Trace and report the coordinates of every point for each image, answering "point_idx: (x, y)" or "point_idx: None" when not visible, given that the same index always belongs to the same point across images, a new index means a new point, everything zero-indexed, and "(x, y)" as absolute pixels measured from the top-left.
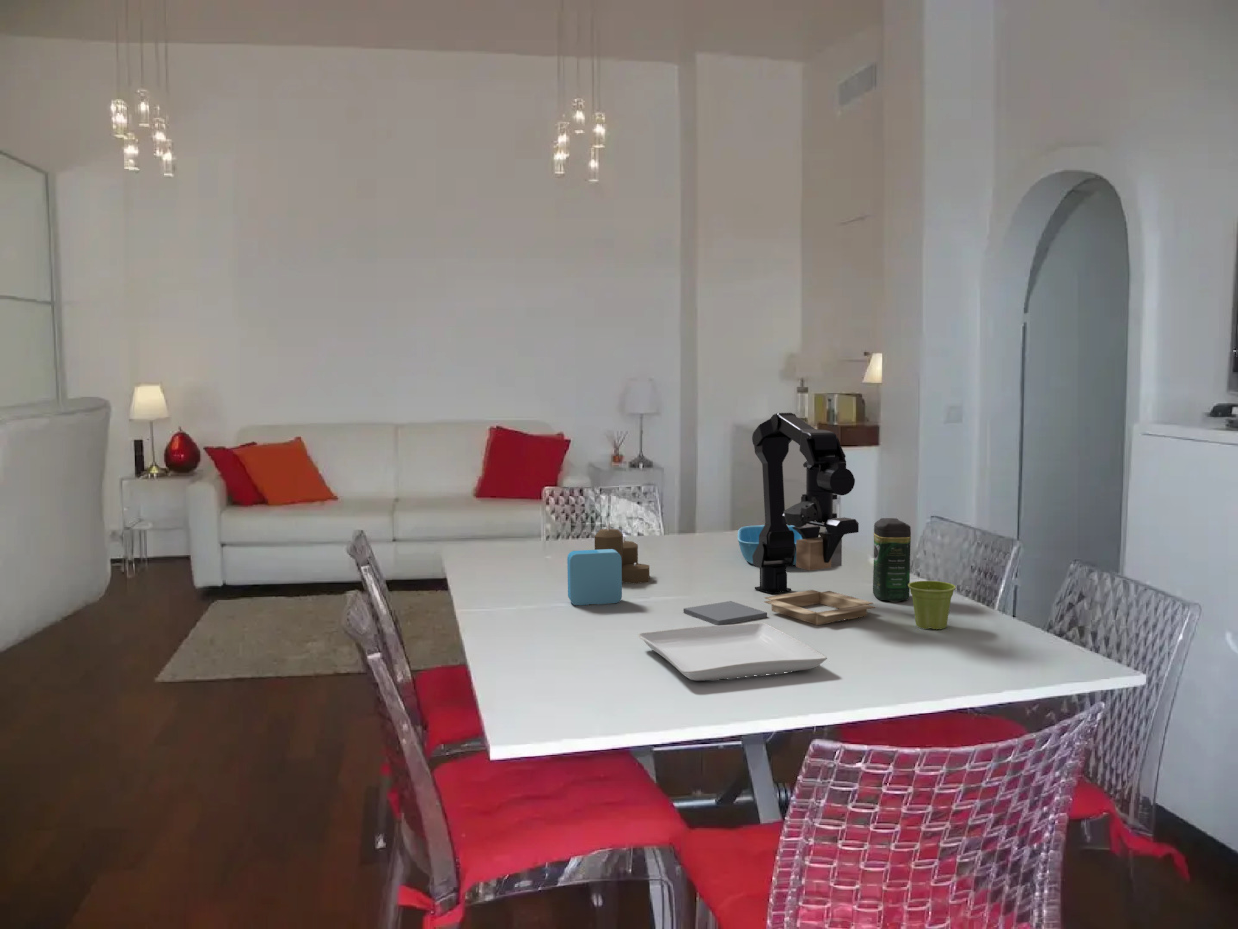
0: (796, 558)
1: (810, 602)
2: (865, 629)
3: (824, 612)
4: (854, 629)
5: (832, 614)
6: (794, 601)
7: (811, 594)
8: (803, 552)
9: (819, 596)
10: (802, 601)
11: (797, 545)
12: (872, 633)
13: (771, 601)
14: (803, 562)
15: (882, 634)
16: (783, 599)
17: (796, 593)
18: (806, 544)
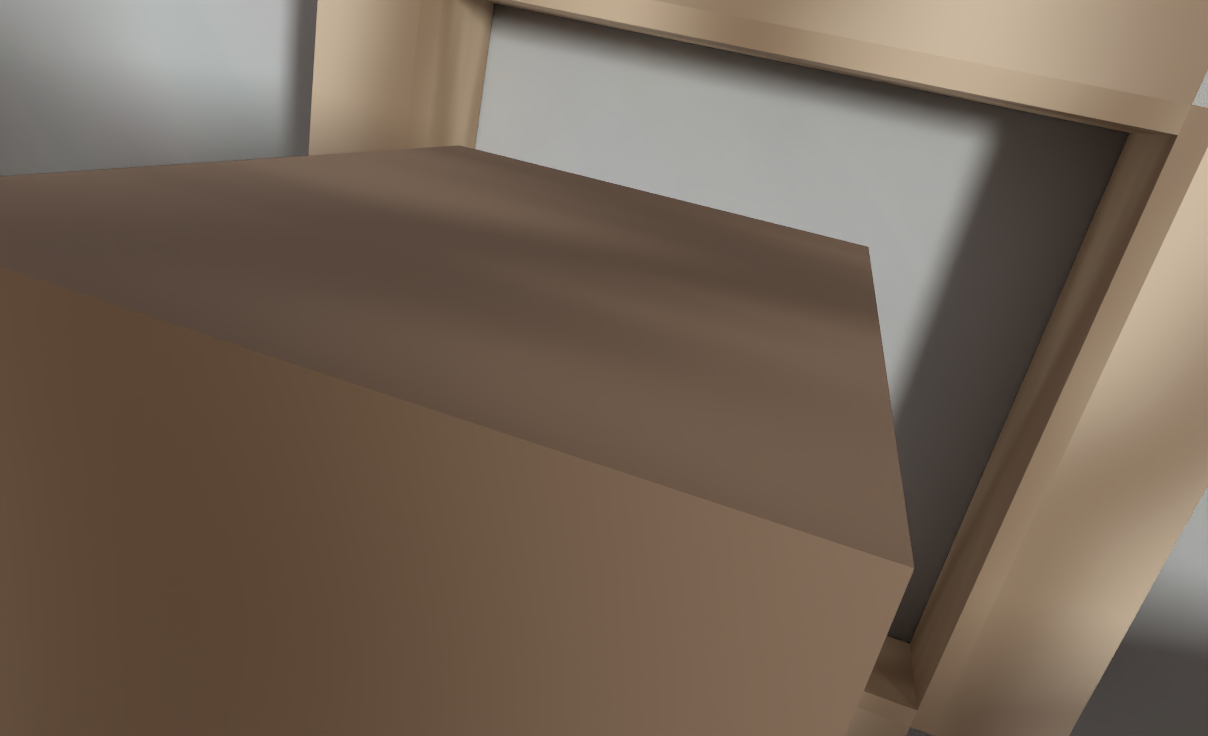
0: (861, 279)
1: (948, 570)
2: (201, 159)
3: (406, 44)
4: (239, 100)
5: (317, 34)
6: (1032, 406)
7: (954, 625)
8: (502, 237)
9: (913, 683)
10: (987, 495)
11: (807, 396)
12: (115, 99)
13: (1165, 16)
14: (601, 202)
15: (71, 127)
16: (1110, 268)
17: (1108, 562)
18: (122, 243)
